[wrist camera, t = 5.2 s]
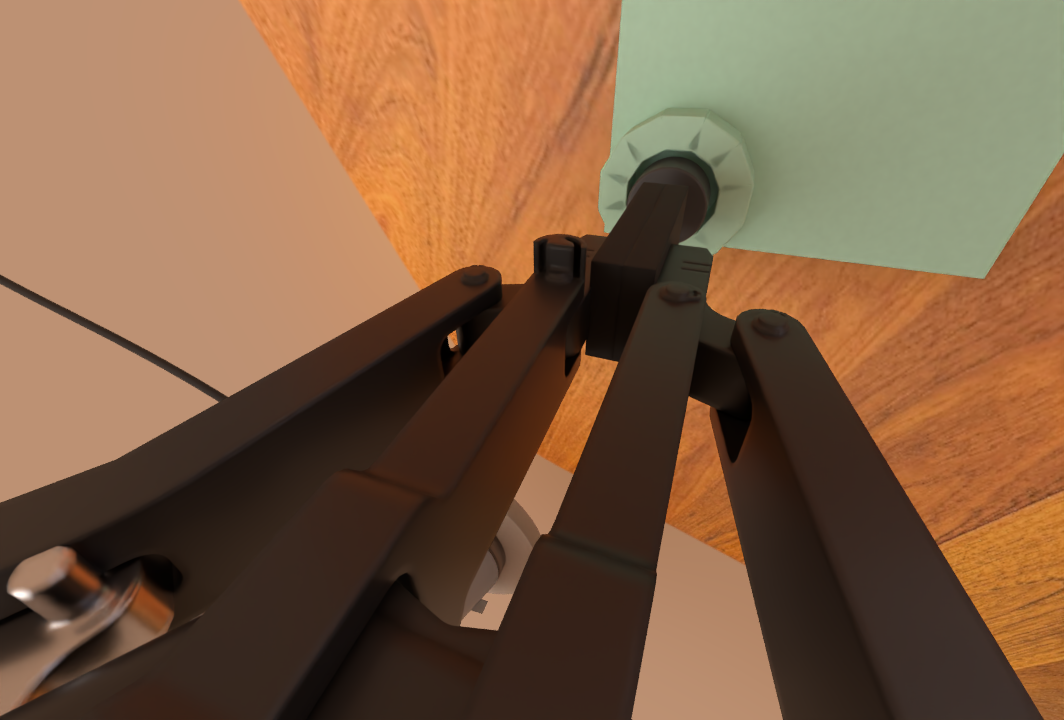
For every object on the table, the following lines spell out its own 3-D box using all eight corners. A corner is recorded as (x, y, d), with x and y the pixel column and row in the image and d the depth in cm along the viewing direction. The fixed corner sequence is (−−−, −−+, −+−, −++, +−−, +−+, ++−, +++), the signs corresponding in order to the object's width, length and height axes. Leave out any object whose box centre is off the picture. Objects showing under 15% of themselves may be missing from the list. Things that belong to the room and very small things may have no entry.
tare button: (631, 226, 20) (622, 241, 19) (639, 153, 18) (630, 164, 17) (702, 234, 19) (698, 251, 18) (718, 158, 17) (715, 170, 16)
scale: (608, 232, 23) (593, 256, 21) (641, -158, 15) (622, -187, 13) (967, 276, 19) (995, 312, 17) (1284, -245, 11) (1422, -312, 8)
